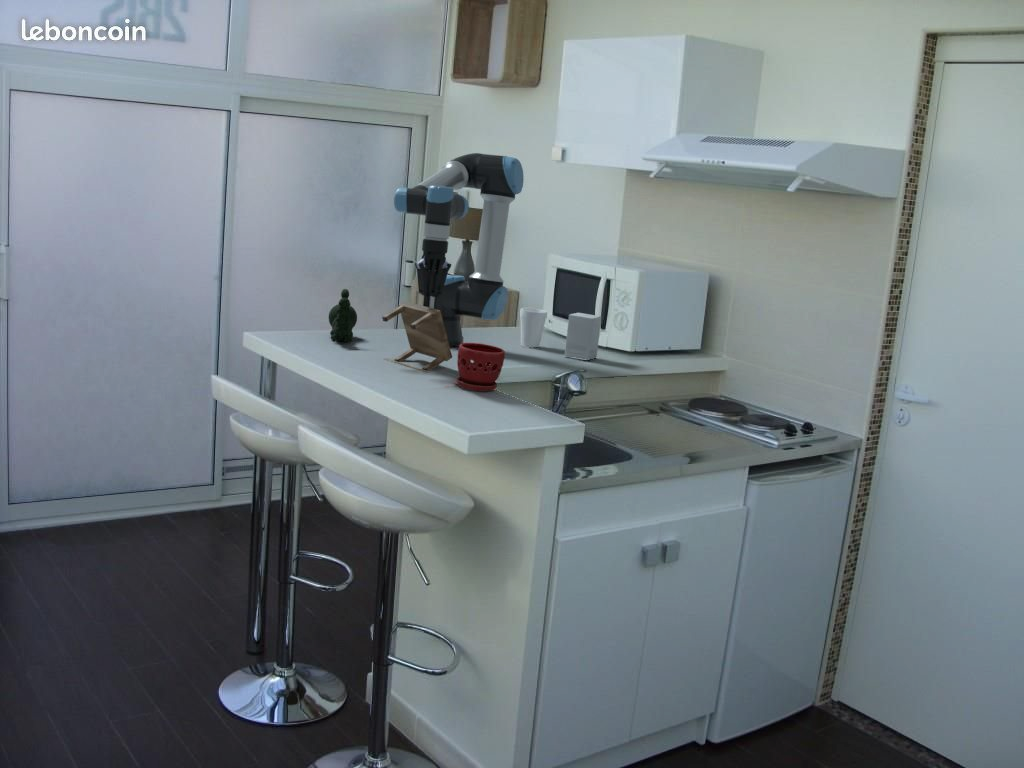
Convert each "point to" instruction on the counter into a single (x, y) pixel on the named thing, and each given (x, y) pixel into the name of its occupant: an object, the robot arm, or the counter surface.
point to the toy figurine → (342, 319)
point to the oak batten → (406, 365)
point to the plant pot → (479, 366)
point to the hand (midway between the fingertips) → (427, 318)
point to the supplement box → (583, 336)
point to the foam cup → (532, 326)
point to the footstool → (423, 332)
